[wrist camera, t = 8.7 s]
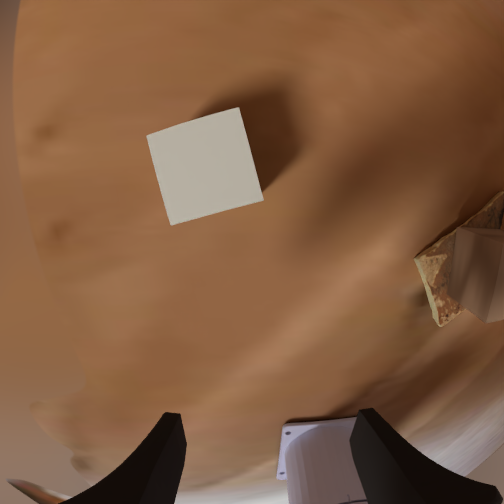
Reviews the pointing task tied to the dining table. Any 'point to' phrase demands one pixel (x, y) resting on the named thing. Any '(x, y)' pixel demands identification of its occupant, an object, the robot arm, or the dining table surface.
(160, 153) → the white cube
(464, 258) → the walnut block
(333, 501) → the robot arm
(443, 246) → the shard
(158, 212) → the dining table surface
